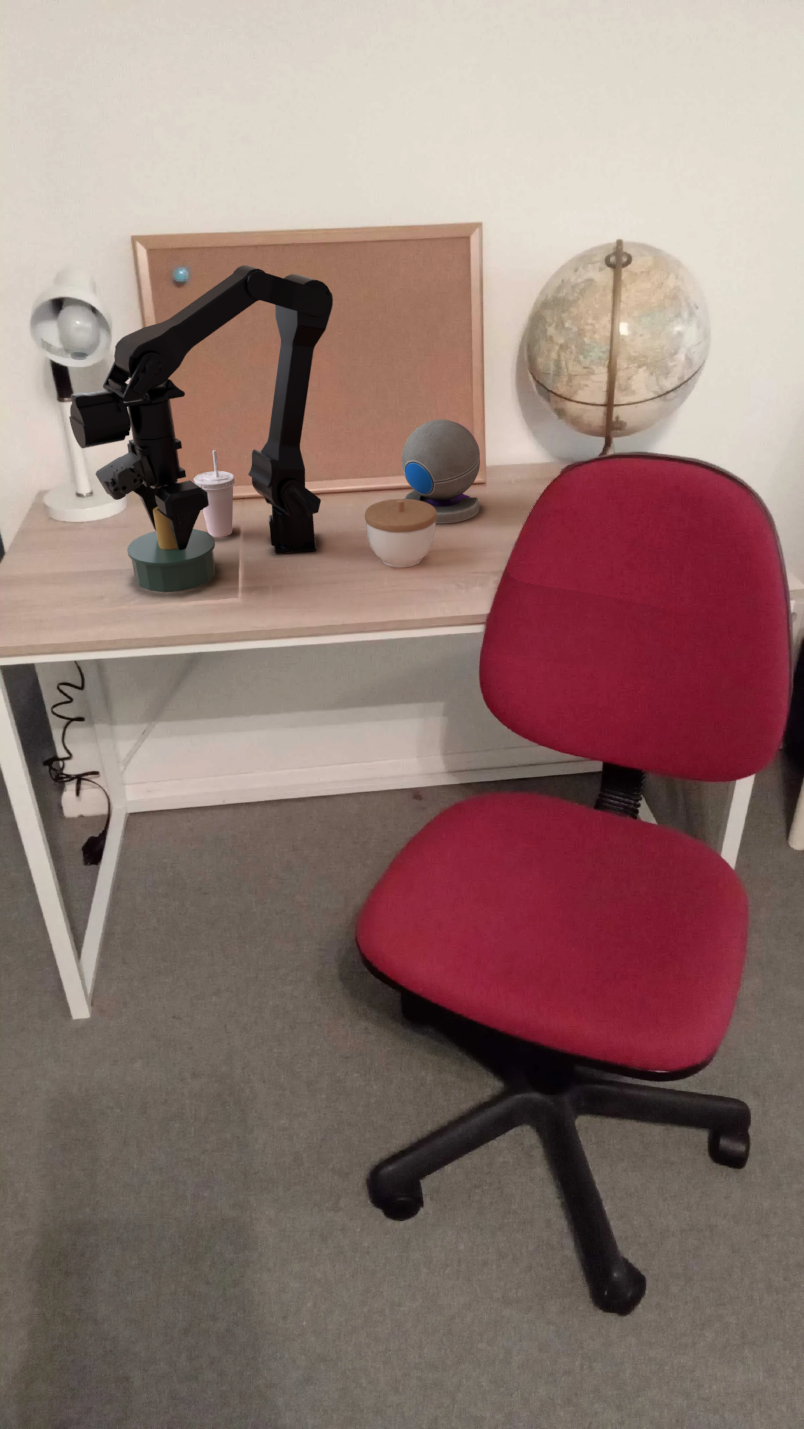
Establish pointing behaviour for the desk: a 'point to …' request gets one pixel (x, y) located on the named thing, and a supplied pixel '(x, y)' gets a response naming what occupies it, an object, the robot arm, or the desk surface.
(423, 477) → the webcam
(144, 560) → the lid
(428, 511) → the trinket box
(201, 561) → the tin
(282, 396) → the robot arm
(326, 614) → the desk surface
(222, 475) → the smoothie
